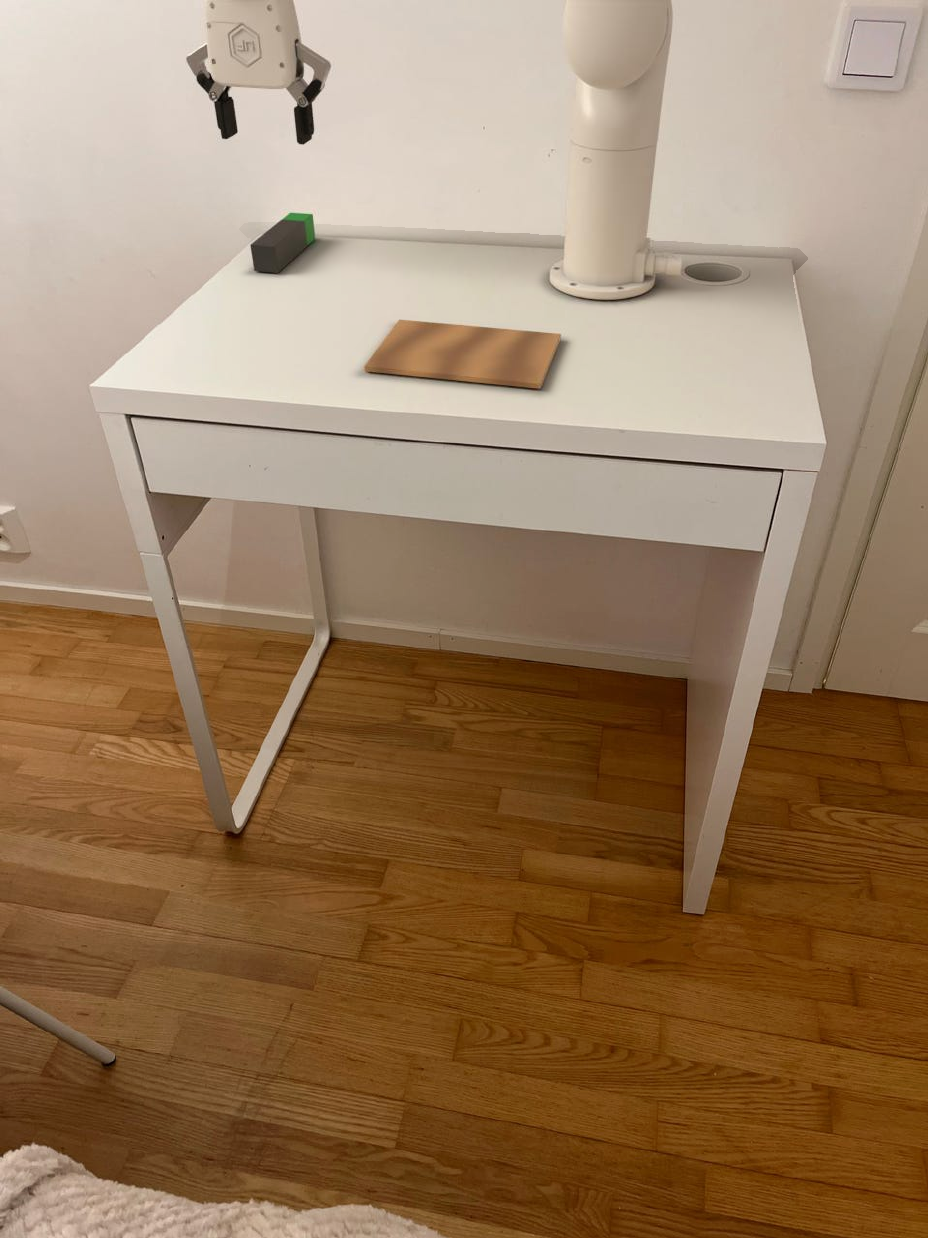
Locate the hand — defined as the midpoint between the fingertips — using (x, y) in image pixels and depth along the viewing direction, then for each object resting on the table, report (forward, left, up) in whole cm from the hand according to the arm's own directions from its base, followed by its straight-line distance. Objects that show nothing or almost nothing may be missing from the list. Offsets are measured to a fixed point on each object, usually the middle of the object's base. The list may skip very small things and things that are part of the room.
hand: (267, 138), depth 112 cm
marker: (0, 0, -14) cm, 14 cm away
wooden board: (-30, +25, -14) cm, 41 cm away
